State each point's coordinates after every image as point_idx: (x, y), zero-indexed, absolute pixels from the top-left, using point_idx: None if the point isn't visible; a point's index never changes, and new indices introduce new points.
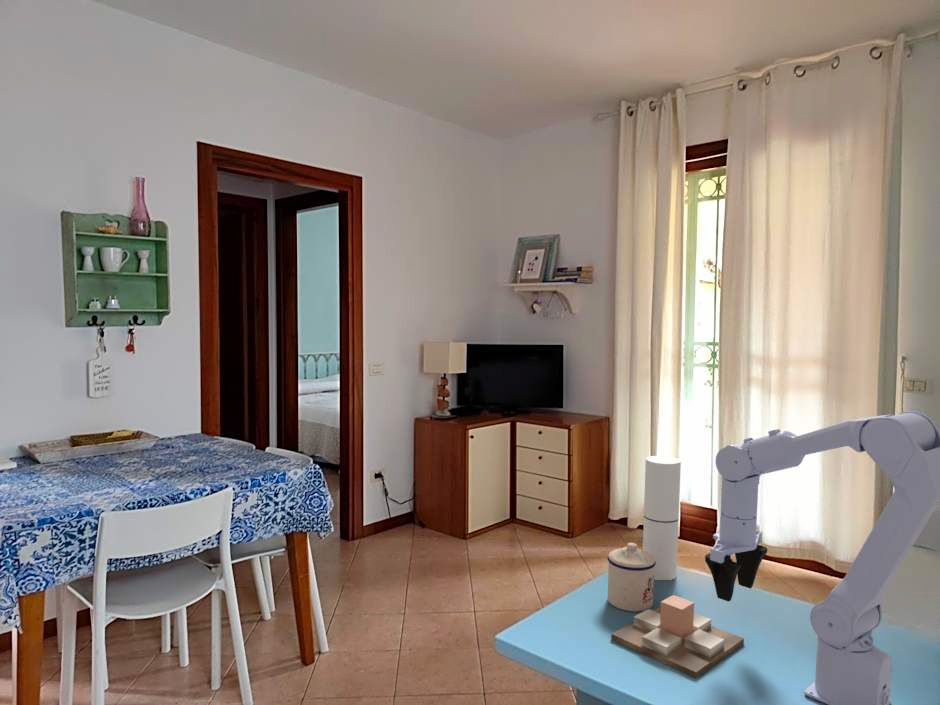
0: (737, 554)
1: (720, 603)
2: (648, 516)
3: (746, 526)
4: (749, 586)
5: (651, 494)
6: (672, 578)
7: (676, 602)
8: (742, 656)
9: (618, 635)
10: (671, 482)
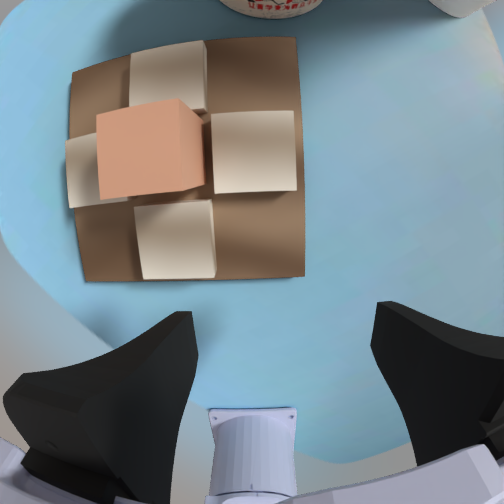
0: (460, 366)
1: (446, 133)
2: None
3: None
4: (373, 346)
5: None
6: (448, 12)
7: (131, 148)
8: (244, 296)
9: (75, 84)
10: None
